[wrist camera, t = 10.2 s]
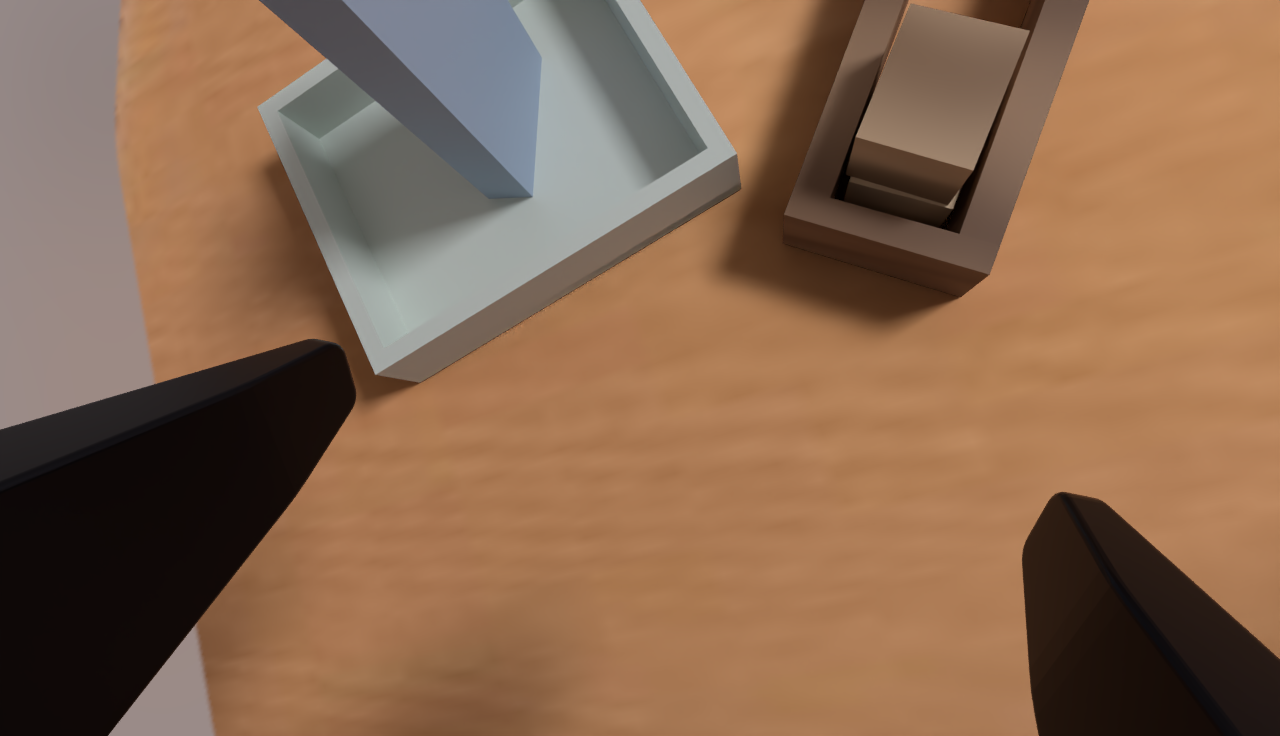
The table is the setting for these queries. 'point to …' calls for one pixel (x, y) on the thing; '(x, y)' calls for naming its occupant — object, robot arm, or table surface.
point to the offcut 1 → (935, 103)
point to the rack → (985, 195)
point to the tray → (503, 227)
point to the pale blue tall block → (440, 76)
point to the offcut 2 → (897, 202)
